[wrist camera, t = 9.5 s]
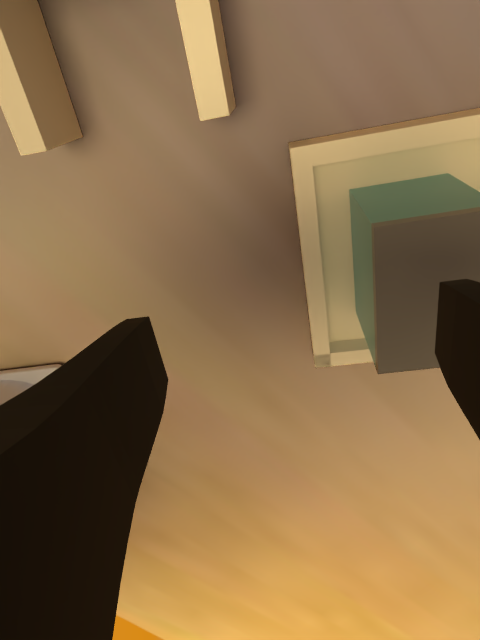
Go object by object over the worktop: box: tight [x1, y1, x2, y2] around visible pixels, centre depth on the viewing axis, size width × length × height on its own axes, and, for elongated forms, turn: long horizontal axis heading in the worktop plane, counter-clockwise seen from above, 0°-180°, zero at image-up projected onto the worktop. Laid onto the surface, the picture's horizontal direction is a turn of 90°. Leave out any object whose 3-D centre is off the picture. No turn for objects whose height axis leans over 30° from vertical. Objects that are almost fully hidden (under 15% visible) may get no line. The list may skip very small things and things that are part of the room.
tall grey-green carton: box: [349, 173, 480, 374], centre depth 17 cm, size 6×4×5 cm, turn 10°
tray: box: [288, 108, 480, 368], centre depth 19 cm, size 11×9×2 cm
